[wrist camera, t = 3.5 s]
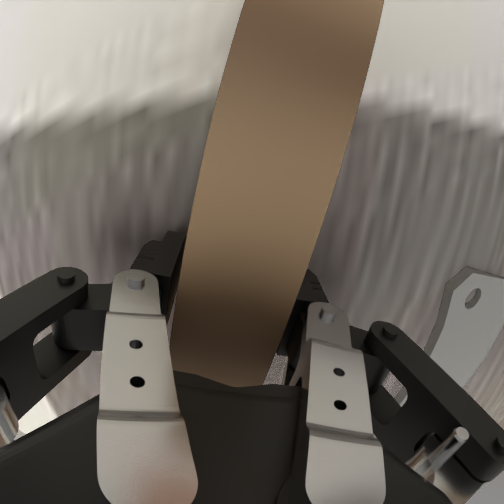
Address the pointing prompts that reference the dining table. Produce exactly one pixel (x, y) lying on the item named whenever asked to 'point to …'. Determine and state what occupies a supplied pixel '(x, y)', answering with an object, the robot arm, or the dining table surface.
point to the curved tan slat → (267, 179)
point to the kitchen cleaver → (465, 325)
